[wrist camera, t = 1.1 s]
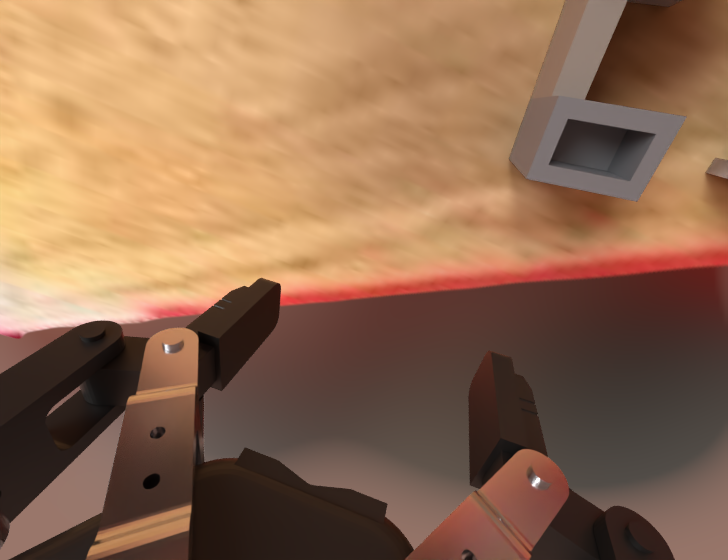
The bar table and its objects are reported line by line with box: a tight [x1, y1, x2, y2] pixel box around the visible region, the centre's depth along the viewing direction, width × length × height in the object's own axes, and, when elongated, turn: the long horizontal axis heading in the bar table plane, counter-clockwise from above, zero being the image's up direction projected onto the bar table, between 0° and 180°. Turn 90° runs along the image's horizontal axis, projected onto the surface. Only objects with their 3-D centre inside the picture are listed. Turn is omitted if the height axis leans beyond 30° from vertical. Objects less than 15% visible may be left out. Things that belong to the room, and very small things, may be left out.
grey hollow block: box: [509, 0, 686, 202], centre depth 22 cm, size 17×7×10 cm, turn 171°
